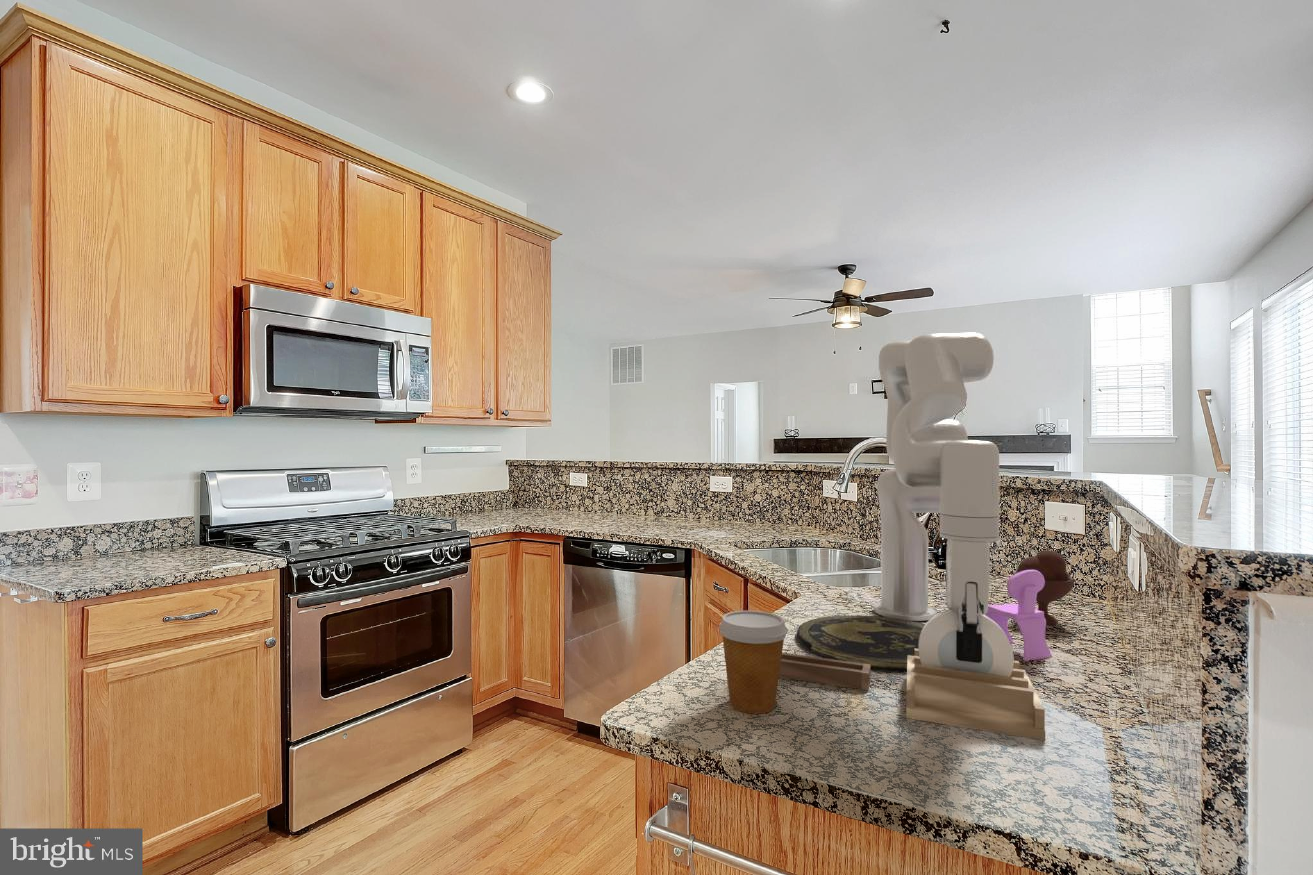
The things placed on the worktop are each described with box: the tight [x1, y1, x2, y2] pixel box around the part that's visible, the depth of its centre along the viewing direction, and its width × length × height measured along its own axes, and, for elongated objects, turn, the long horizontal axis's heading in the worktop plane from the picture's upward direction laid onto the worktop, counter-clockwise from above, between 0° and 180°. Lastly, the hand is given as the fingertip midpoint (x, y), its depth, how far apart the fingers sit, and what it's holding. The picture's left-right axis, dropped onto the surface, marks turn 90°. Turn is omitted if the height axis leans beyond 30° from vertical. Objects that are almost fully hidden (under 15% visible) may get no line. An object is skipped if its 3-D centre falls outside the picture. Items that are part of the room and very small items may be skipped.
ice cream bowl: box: [1012, 549, 1076, 626], centre depth 131 cm, size 11×11×15 cm
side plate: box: [919, 609, 1015, 677], centre depth 88 cm, size 2×12×12 cm
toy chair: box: [984, 570, 1053, 661], centre depth 112 cm, size 8×9×15 cm
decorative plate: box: [795, 614, 926, 674], centre depth 115 cm, size 30×2×30 cm
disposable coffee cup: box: [718, 610, 789, 715], centre depth 87 cm, size 10×10×12 cm
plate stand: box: [779, 652, 871, 691], centre depth 98 cm, size 4×15×2 cm, turn 68°
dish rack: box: [905, 648, 1046, 741], centre depth 88 cm, size 16×16×5 cm
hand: (968, 657), depth 88 cm, fingers closed on side plate, 1 cm apart
